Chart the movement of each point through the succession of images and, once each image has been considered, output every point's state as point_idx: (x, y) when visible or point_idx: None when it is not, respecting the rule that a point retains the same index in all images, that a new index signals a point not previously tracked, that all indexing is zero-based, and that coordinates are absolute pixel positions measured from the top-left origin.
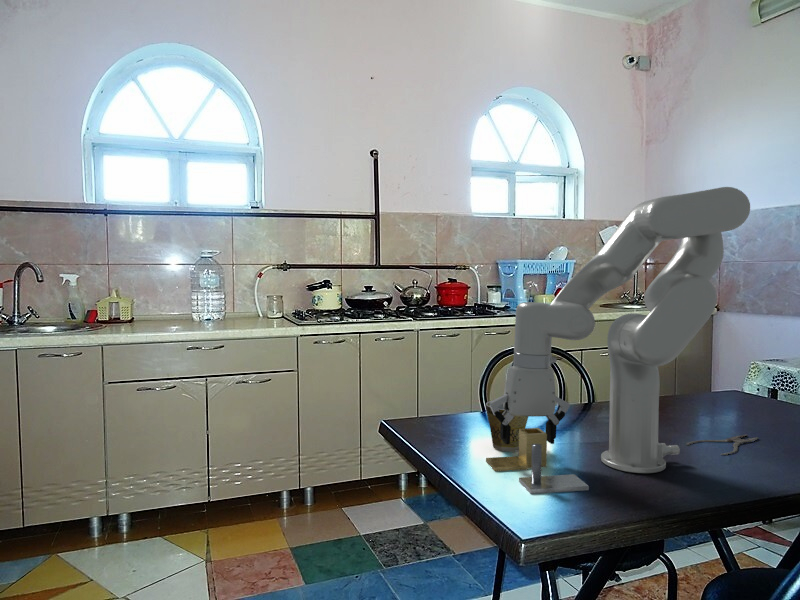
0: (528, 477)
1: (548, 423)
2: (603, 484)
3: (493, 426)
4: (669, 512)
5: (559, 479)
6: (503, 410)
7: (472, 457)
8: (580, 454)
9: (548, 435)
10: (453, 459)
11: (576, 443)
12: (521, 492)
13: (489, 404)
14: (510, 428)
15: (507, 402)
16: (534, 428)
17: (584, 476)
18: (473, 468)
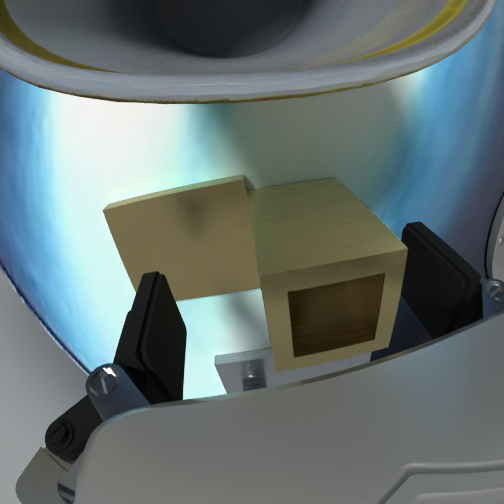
0: (241, 363)
1: (456, 309)
2: (408, 345)
3: (99, 21)
4: None
5: (320, 365)
6: (84, 95)
7: (59, 160)
8: (484, 134)
9: (415, 279)
10: (12, 193)
11: (499, 32)
12: (213, 393)
13: (24, 488)
14: (182, 396)
15: (116, 491)
16: (376, 263)
17: (402, 311)
18: (78, 271)
